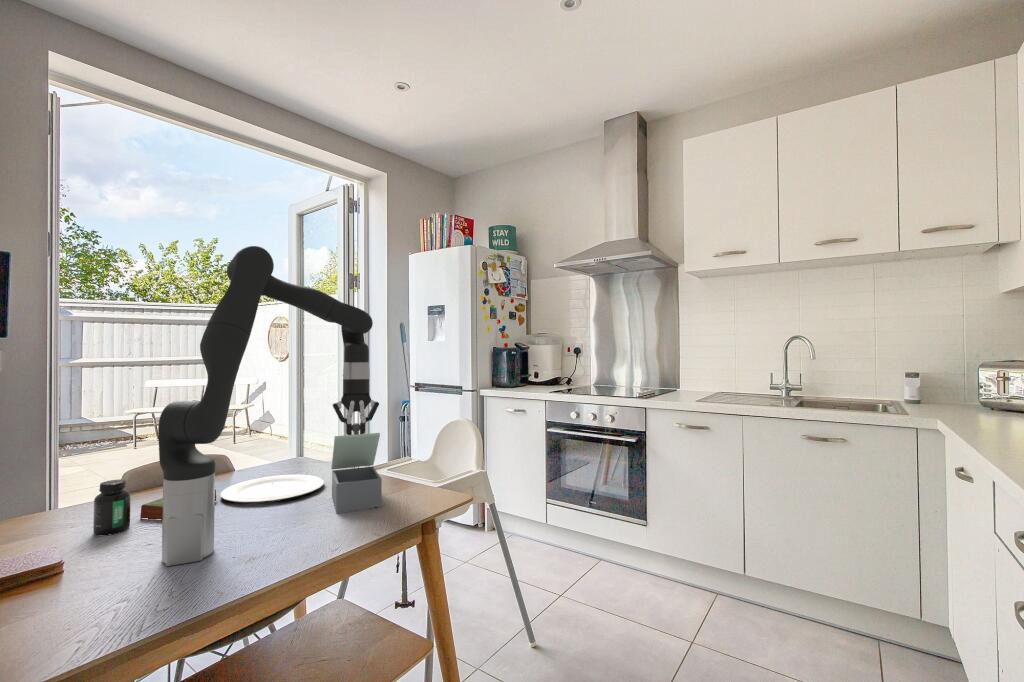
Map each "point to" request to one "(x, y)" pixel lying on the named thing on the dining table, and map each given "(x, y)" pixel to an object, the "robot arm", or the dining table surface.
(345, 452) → the lid
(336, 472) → the box
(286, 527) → the dining table surface
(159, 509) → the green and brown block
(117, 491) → the supplement bottle
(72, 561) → the dining table surface
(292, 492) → the plate
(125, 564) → the dining table surface
